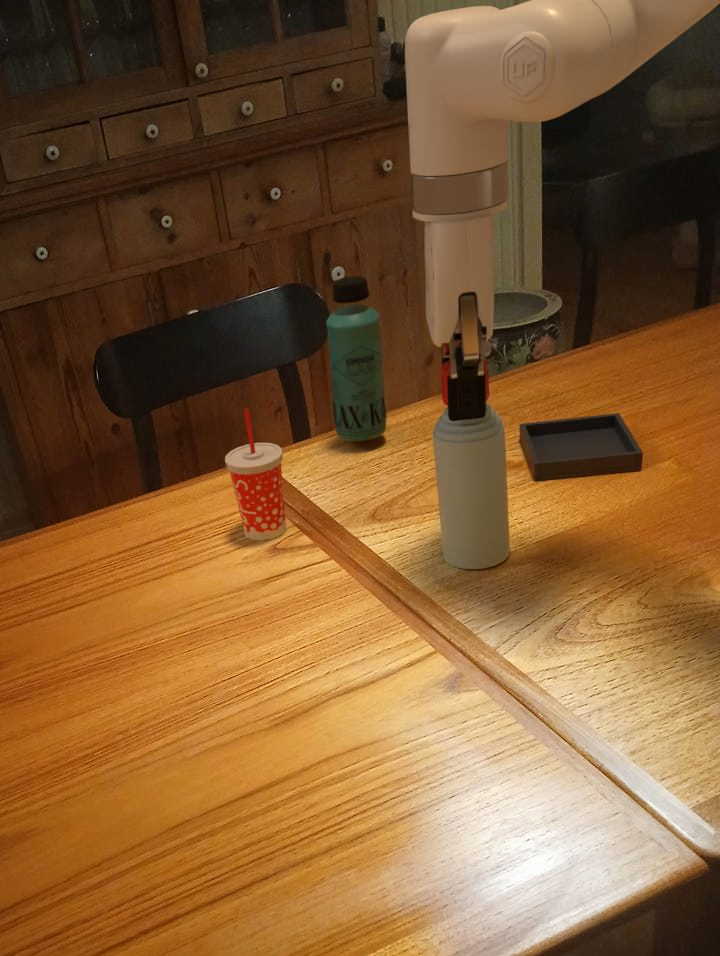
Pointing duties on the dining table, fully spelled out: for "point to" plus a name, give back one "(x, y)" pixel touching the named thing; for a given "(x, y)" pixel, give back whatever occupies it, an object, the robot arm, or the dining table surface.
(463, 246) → the robot arm
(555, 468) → the dish
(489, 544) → the water bottle
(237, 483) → the beverage cup
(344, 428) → the beverage bottle
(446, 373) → the cap
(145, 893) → the dining table surface
